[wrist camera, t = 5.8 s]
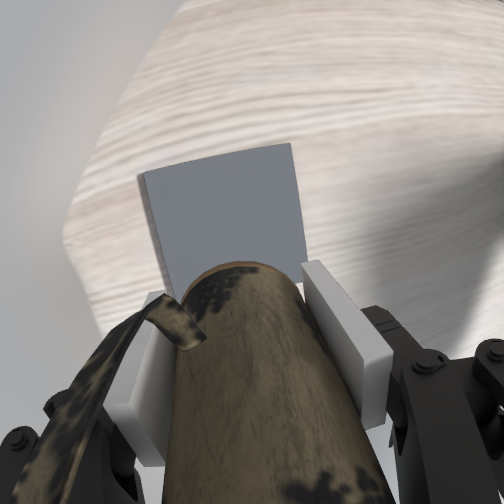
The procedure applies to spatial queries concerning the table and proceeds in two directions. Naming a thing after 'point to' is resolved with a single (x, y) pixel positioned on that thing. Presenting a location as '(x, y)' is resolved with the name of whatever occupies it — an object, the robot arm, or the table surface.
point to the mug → (228, 402)
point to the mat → (228, 213)
